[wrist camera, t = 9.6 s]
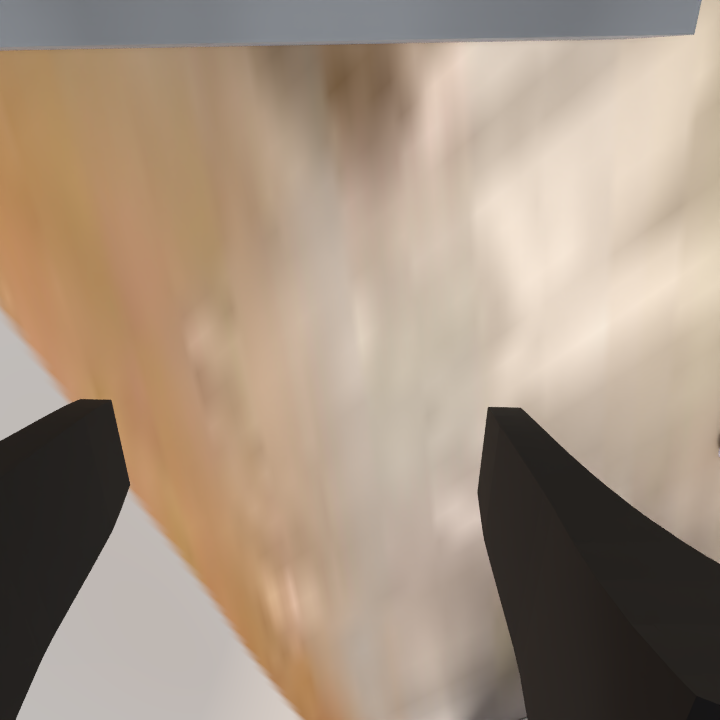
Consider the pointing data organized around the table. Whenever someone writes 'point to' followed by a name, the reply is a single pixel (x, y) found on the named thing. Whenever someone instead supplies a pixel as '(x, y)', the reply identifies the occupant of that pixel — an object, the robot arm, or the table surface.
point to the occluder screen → (330, 22)
